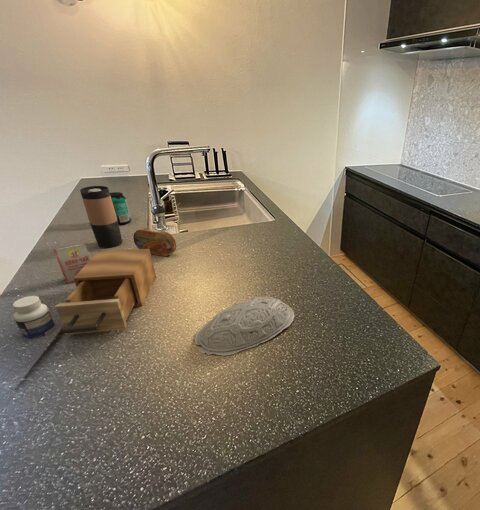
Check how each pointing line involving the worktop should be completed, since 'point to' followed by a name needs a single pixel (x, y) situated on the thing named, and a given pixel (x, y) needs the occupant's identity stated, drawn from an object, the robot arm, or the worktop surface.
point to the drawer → (97, 306)
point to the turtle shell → (244, 326)
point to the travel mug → (102, 216)
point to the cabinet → (122, 269)
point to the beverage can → (120, 208)
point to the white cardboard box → (72, 260)
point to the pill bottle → (33, 317)
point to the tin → (155, 241)
